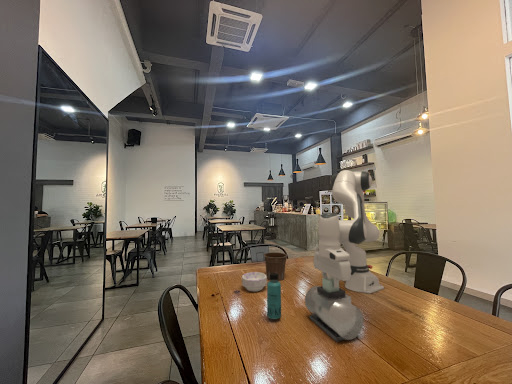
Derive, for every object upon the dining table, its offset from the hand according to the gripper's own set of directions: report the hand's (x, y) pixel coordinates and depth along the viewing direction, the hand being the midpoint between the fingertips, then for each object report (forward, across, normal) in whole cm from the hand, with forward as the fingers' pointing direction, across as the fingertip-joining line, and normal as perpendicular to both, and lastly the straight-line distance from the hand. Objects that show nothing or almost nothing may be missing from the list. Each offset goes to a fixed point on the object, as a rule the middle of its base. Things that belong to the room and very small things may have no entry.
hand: (330, 284), depth 93 cm
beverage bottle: (+17, -14, -20) cm, 30 cm away
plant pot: (+18, -64, +3) cm, 66 cm away
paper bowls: (+18, -51, -17) cm, 56 cm away
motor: (+17, -2, 0) cm, 17 cm away
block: (+3, 0, 0) cm, 3 cm away
